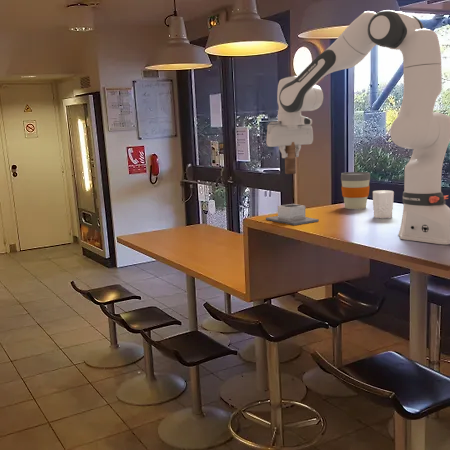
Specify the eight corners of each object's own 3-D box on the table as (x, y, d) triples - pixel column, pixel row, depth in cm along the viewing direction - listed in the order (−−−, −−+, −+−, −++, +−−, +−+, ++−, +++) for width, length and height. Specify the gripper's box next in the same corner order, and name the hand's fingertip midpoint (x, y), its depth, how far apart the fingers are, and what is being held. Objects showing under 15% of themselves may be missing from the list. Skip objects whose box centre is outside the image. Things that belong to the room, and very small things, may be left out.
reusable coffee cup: (342, 205, 251) (342, 172, 248) (371, 205, 247) (371, 171, 244) (339, 209, 239) (339, 174, 236) (369, 209, 235) (369, 174, 232)
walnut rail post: (297, 173, 214) (297, 141, 211) (289, 174, 212) (289, 142, 209) (291, 172, 217) (290, 141, 215) (283, 173, 215) (282, 142, 213)
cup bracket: (318, 221, 213) (318, 206, 212) (294, 225, 207) (293, 210, 206) (289, 216, 228) (289, 202, 227) (265, 219, 222) (265, 205, 221)
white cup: (397, 217, 214) (398, 191, 213) (380, 219, 212) (380, 193, 210) (385, 214, 222) (385, 189, 220) (368, 216, 219) (368, 191, 217)
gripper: (272, 121, 203) (273, 159, 205) (315, 119, 213) (315, 156, 216) (262, 122, 208) (263, 159, 210) (304, 120, 218) (305, 155, 221)
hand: (290, 157), depth 213 cm, fingers closed on walnut rail post, 4 cm apart
